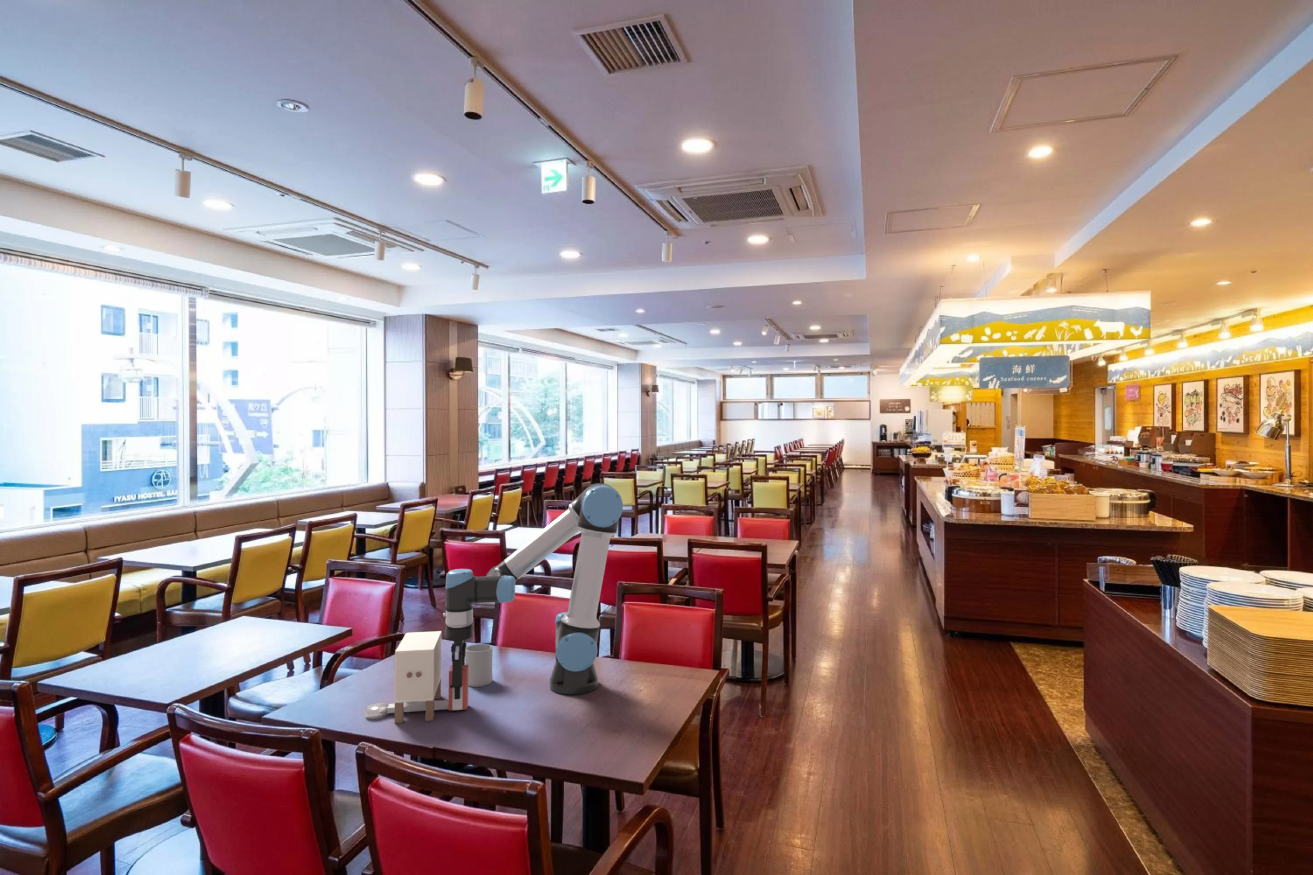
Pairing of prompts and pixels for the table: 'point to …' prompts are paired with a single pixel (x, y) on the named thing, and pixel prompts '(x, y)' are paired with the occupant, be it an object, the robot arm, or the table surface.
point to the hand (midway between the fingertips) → (458, 705)
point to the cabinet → (418, 672)
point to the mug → (479, 664)
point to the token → (376, 711)
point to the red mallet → (439, 704)
